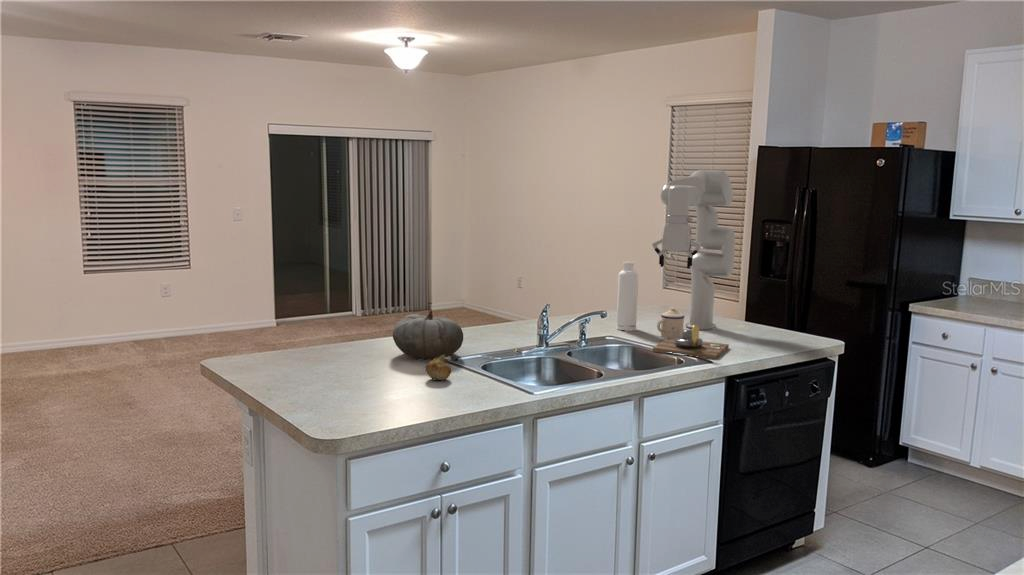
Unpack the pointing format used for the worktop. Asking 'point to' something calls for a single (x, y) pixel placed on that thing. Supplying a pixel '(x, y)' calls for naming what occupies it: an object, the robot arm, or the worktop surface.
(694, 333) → the capstan
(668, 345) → the level stand
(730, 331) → the worktop surface
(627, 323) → the bottle
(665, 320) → the teacup with lid
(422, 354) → the gourd
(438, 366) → the onion
